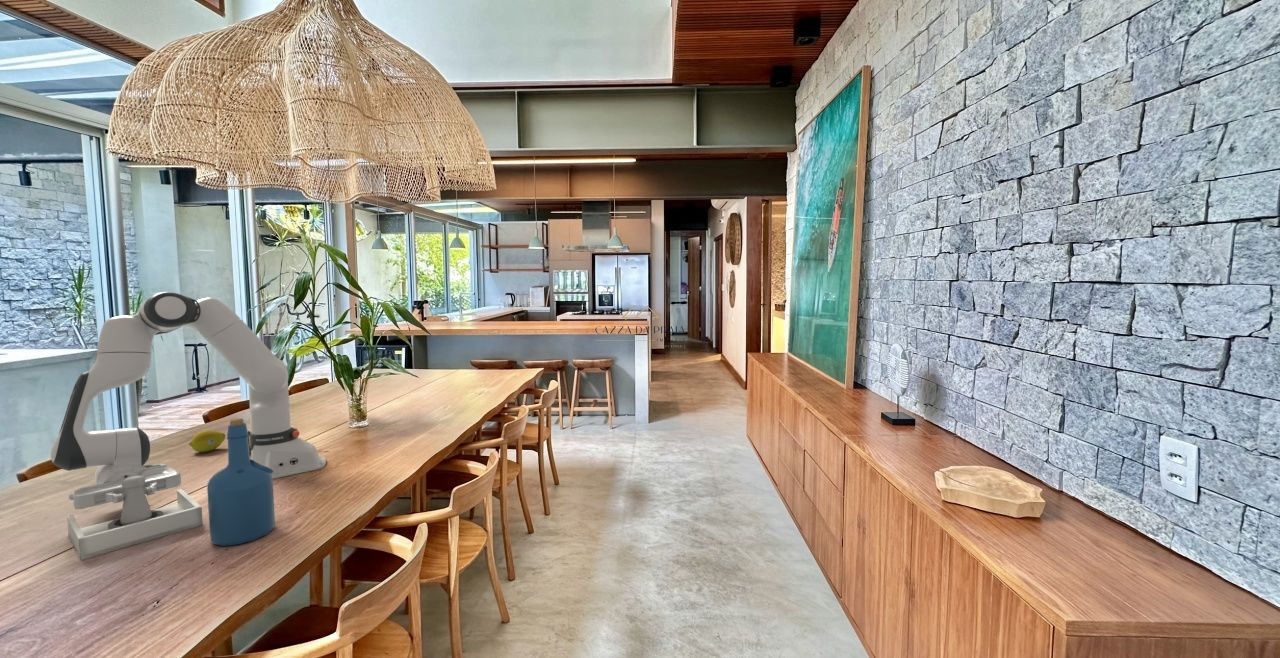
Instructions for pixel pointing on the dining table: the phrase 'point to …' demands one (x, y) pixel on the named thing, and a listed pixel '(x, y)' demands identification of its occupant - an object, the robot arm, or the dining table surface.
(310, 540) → the dining table surface
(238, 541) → the wine bottle
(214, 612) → the dining table surface
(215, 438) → the lemon
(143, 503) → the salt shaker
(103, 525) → the box
